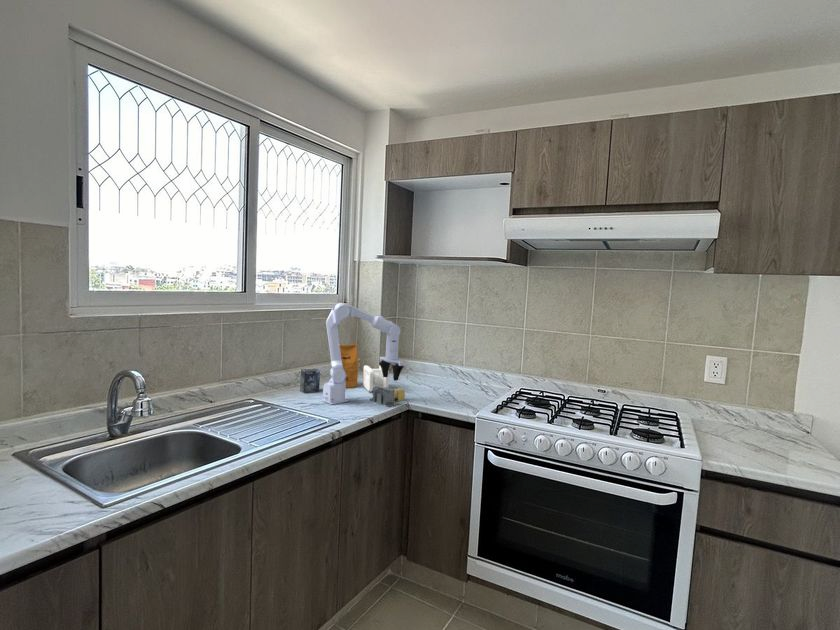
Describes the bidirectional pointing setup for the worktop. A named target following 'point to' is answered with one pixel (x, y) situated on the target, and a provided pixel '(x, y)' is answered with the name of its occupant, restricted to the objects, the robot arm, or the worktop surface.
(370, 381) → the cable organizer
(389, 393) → the housing
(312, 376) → the box
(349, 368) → the coffee package
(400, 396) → the plug
